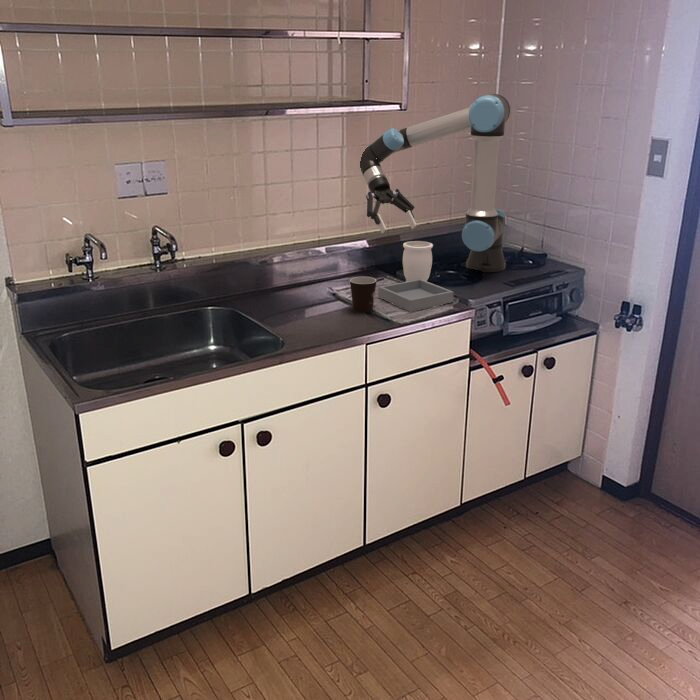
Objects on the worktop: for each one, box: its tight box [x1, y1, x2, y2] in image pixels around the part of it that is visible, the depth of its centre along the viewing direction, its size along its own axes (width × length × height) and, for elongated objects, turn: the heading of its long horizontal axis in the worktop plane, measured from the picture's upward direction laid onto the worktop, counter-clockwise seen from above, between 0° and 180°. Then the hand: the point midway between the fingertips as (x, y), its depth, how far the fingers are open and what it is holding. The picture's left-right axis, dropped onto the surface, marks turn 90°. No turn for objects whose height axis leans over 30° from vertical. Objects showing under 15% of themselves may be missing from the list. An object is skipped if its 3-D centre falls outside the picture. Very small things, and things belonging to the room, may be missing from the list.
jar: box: [402, 240, 434, 282], centre depth 275 cm, size 11×10×15 cm
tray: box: [378, 279, 454, 313], centre depth 260 cm, size 18×18×4 cm
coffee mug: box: [349, 276, 377, 314], centre depth 250 cm, size 12×9×10 cm
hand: (399, 229), depth 280 cm, fingers open, 13 cm apart
